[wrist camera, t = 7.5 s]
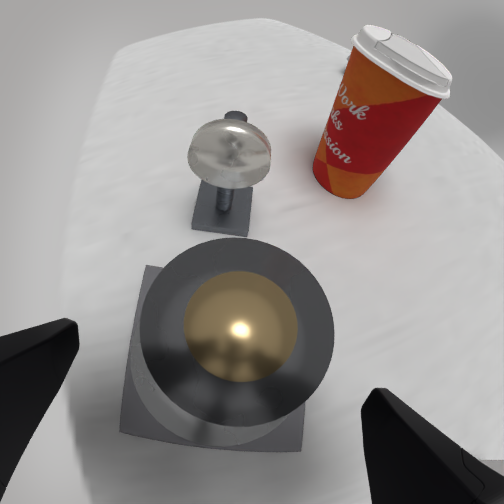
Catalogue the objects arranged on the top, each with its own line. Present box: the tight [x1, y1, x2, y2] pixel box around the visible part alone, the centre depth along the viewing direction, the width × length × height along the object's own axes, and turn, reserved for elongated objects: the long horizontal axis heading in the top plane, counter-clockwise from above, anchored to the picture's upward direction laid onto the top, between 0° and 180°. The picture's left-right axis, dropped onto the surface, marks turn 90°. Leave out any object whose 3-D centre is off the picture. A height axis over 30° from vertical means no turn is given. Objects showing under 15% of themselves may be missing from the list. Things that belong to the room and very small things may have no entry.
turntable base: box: [119, 265, 305, 452], centre depth 17 cm, size 11×11×1 cm
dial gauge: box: [187, 111, 271, 237], centre depth 18 cm, size 4×4×9 cm
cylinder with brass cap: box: [139, 238, 334, 427], centre depth 11 cm, size 6×6×10 cm
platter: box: [130, 321, 290, 446], centre depth 16 cm, size 11×10×1 cm
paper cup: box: [313, 25, 452, 199], centre depth 19 cm, size 8×8×14 cm
